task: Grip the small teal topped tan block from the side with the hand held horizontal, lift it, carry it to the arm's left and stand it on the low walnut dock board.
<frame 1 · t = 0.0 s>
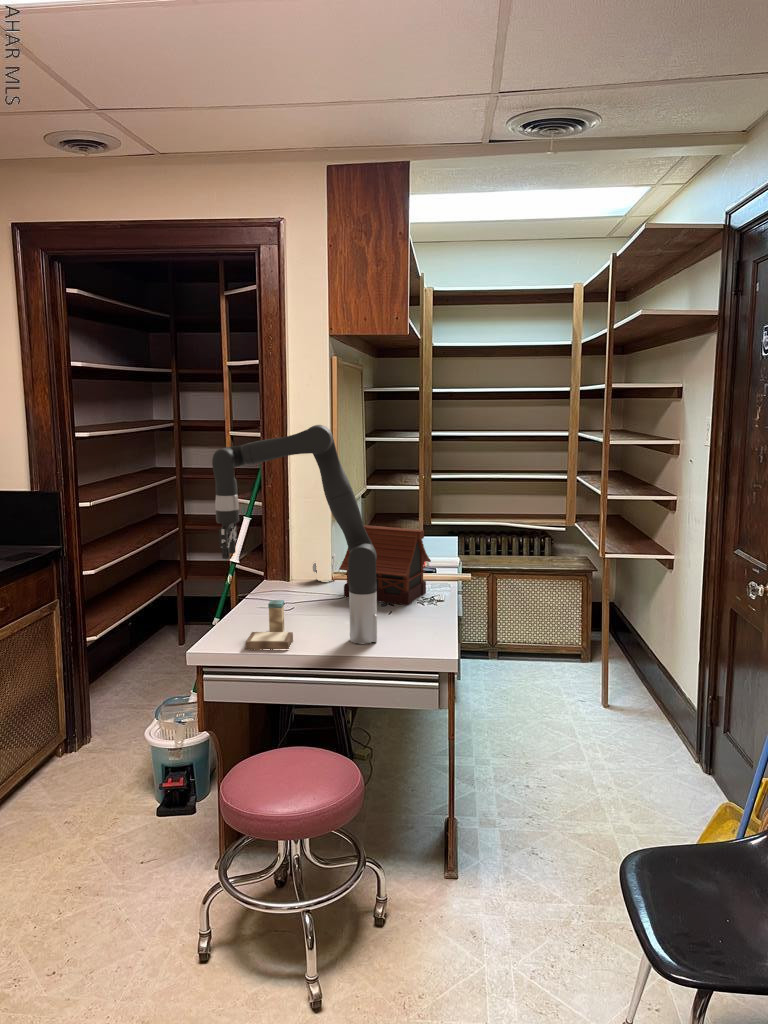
hand: (229, 555, 244), 29 cm above the table, tool pointing down, fingers open, 8 cm apart
cup: (325, 581, 327), on the table
house: (383, 595, 303), on the table
teal topped tan block: (277, 632, 256), on the table
dock: (269, 645, 242), on the table
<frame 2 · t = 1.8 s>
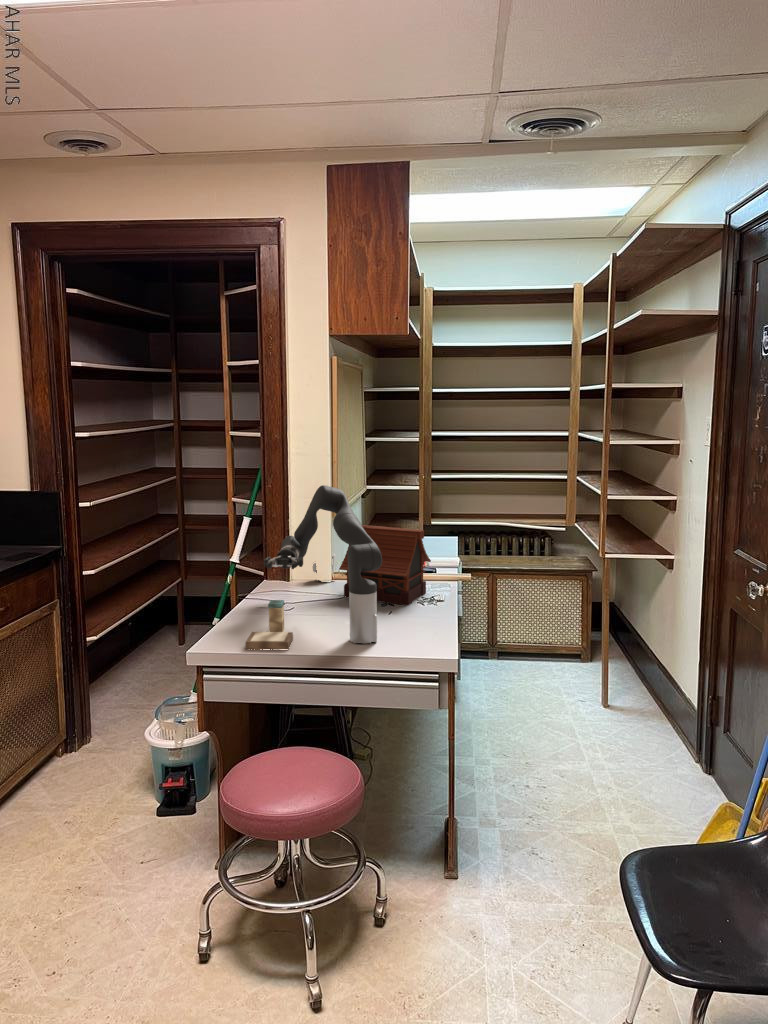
hand: (280, 566, 263), 21 cm above the table, tool horizontal, fingers open, 8 cm apart
nothing on the table moved.
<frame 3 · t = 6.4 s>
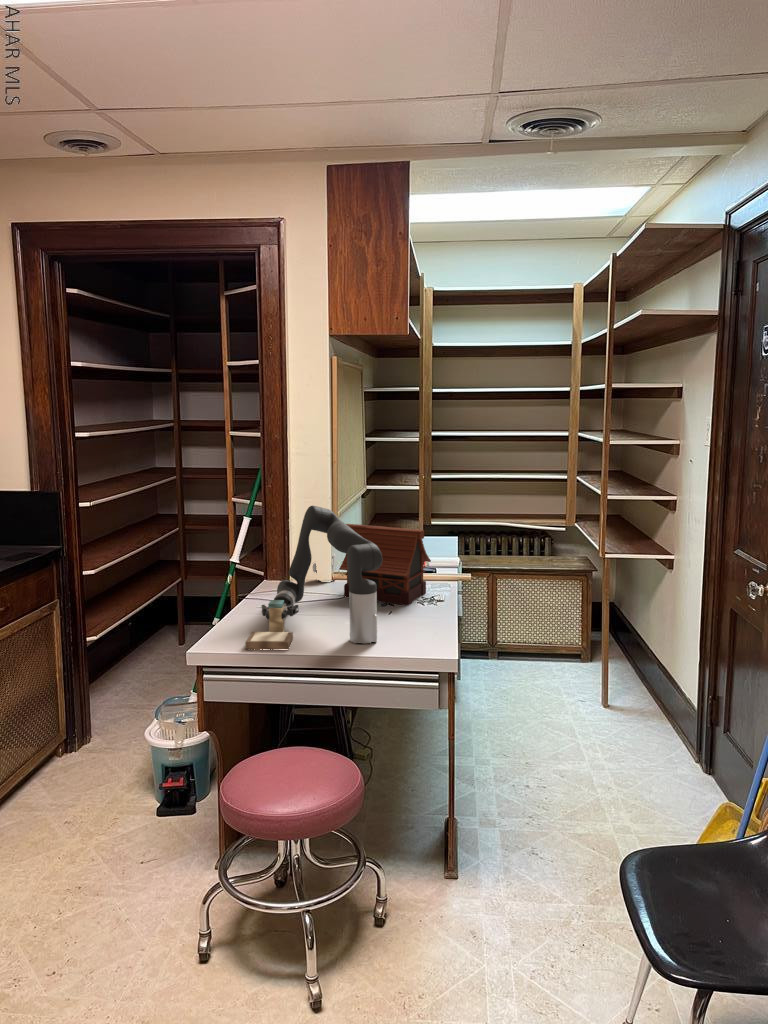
hand: (275, 616, 252), 7 cm above the table, tool horizontal, fingers closed on teal topped tan block, 4 cm apart
teal topped tan block: (277, 632, 256), on the table, touching gripper
everything else where it was.
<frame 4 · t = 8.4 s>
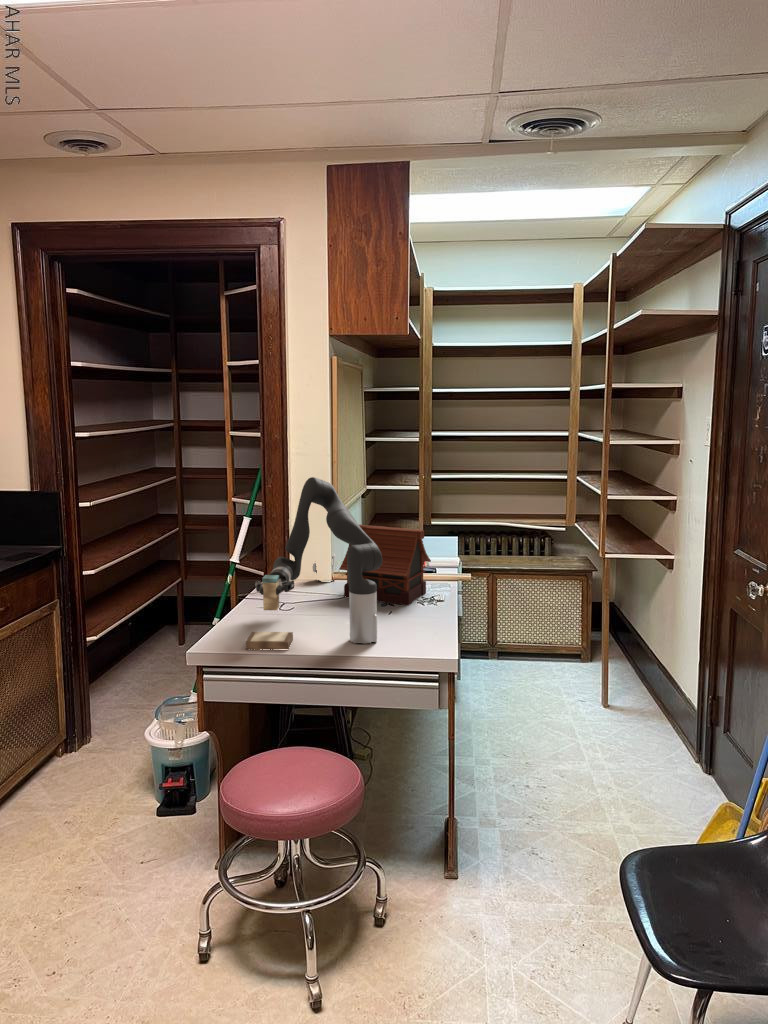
hand: (269, 591, 241), 18 cm above the table, tool horizontal, fingers closed on teal topped tan block, 4 cm apart
teal topped tan block: (271, 608, 245), point 11 cm above the table, touching gripper
everything else where it was.
when the fingers open (10 cm above the table, at t = 10.5 s): teal topped tan block stays where it is, resting on dock.
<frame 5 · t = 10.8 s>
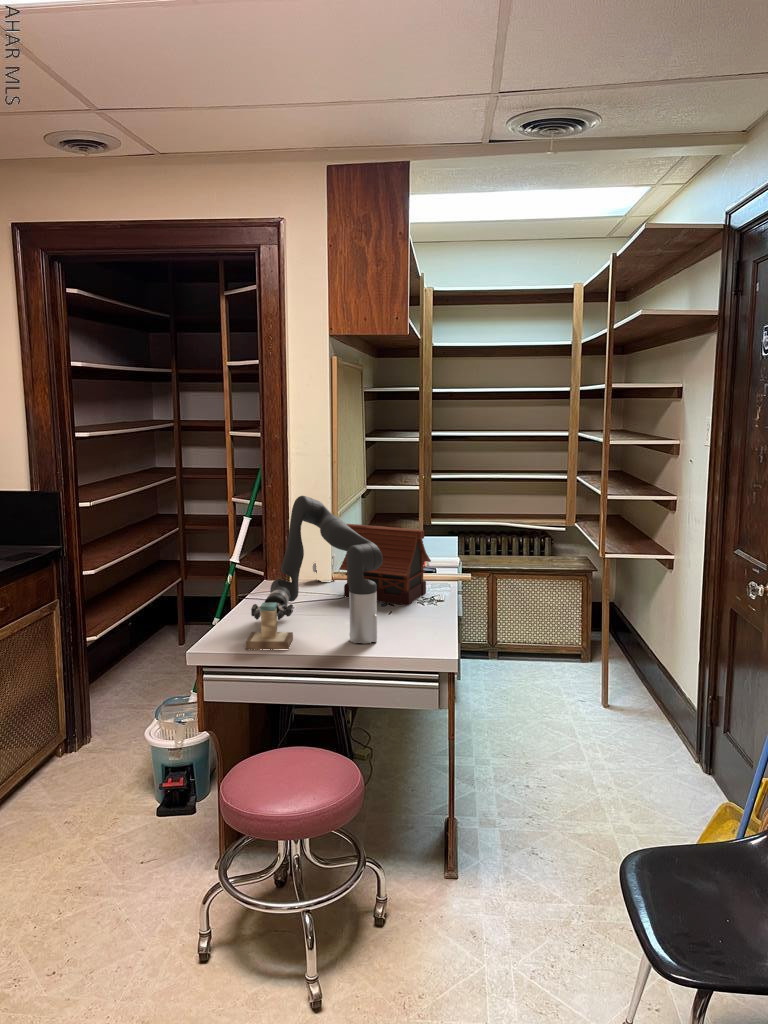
hand: (267, 616, 239), 11 cm above the table, tool horizontal, fingers open, 6 cm apart
teal topped tan block: (269, 636, 242), point 3 cm above the table, touching dock
everything else where it was.
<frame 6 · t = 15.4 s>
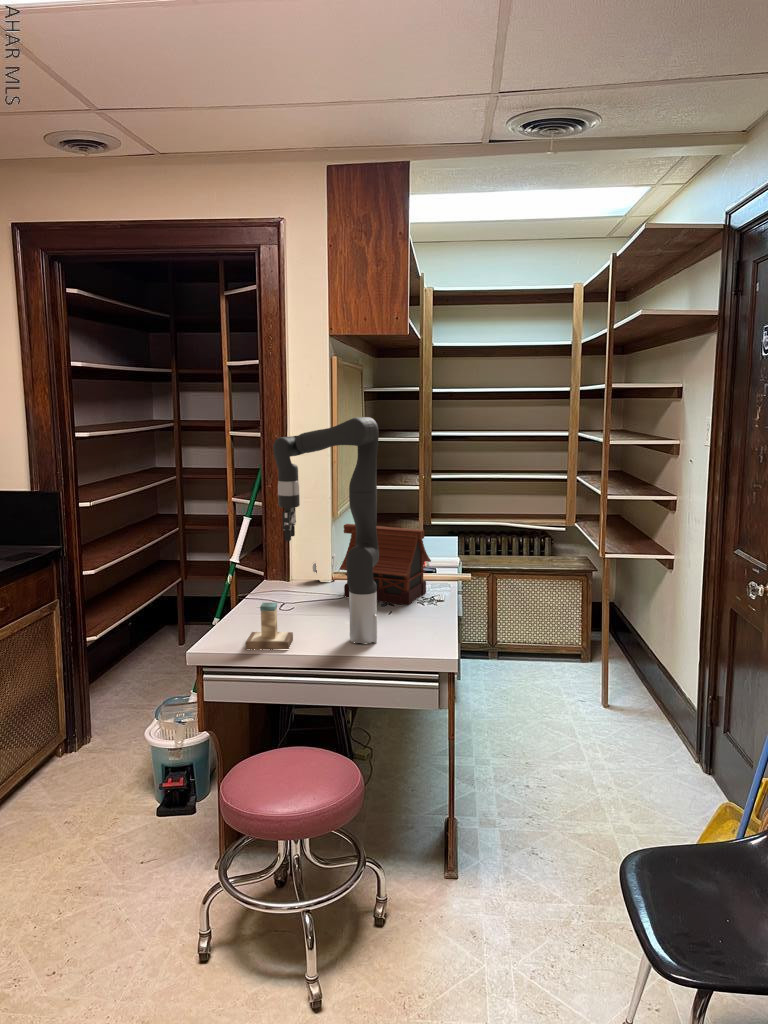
hand: (289, 538, 258), 32 cm above the table, tool pointing down, fingers open, 8 cm apart
nothing on the table moved.
at the end: teal topped tan block touching dock; teal topped tan block 0.1 cm from the dock (horizontally); teal topped tan block tilted 0° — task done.
